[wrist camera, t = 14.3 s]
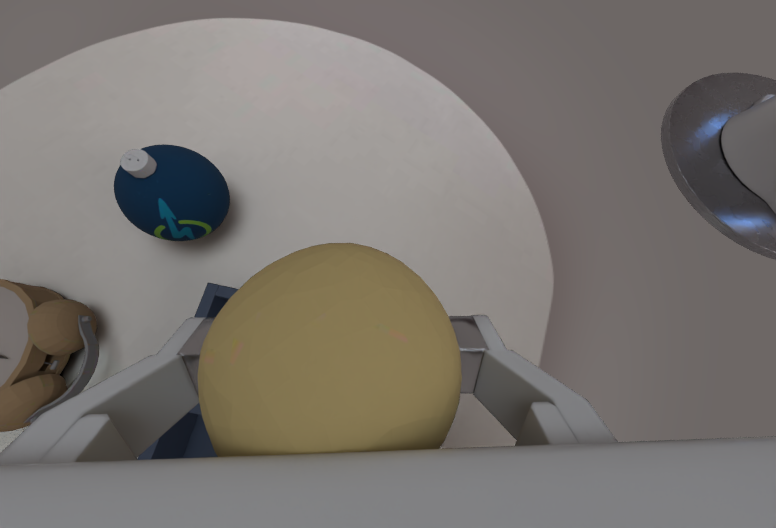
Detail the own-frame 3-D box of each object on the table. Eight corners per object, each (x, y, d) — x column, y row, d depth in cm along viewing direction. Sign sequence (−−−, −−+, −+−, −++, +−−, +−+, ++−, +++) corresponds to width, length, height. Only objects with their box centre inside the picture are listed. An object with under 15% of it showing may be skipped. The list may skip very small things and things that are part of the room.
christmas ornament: (148, 249, 29) (42, 200, 20) (172, 175, 32) (87, 100, 22) (234, 256, 30) (170, 212, 20) (251, 183, 32) (201, 112, 23)
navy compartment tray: (412, 333, 29) (421, 330, 24) (372, 554, 24) (372, 608, 19) (235, 293, 29) (207, 282, 24) (156, 506, 24) (101, 547, 19)
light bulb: (265, 343, 15) (58, 328, 5) (370, 270, 16) (362, 148, 6) (337, 461, 13) (242, 738, 4) (445, 371, 15) (578, 408, 5)
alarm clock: (-59, 266, 25) (82, 297, 22) (17, 281, 30) (141, 308, 27) (-155, 408, 22) (-3, 464, 19) (-53, 400, 26) (80, 444, 24)
